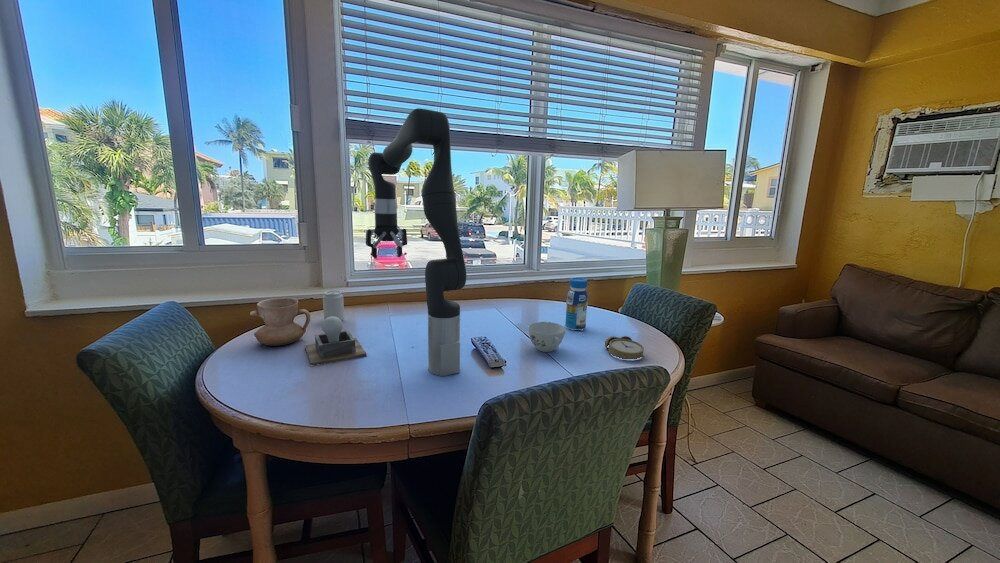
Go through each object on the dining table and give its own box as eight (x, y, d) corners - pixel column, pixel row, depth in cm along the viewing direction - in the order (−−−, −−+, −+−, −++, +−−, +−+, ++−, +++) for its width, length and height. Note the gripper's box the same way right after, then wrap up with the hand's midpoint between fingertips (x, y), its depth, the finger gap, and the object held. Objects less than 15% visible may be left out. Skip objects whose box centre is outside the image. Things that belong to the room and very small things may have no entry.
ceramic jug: (246, 351, 128) (243, 309, 125) (258, 335, 142) (255, 297, 139) (308, 347, 134) (306, 306, 131) (313, 333, 147) (312, 295, 144)
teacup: (521, 344, 142) (522, 322, 140) (553, 341, 146) (554, 320, 144) (539, 360, 128) (540, 337, 126) (574, 356, 132) (575, 333, 130)
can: (320, 323, 158) (318, 293, 155) (331, 317, 165) (329, 289, 162) (337, 324, 157) (336, 294, 154) (348, 319, 164) (346, 290, 161)
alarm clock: (619, 354, 128) (599, 331, 141) (617, 367, 129) (597, 343, 143) (651, 352, 130) (628, 330, 144) (648, 365, 132) (626, 342, 145)
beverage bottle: (564, 323, 166) (567, 276, 162) (585, 325, 165) (588, 277, 160) (564, 330, 158) (568, 280, 153) (586, 332, 156) (590, 282, 152)
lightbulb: (347, 346, 132) (345, 314, 130) (339, 353, 126) (336, 319, 124) (329, 345, 133) (327, 313, 130) (320, 352, 127) (317, 319, 124)
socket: (366, 356, 127) (365, 341, 126) (311, 366, 119) (310, 350, 118) (355, 340, 141) (355, 326, 140) (305, 348, 132) (304, 333, 131)
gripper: (367, 212, 134) (369, 260, 138) (409, 212, 142) (409, 258, 145) (362, 211, 141) (364, 257, 144) (402, 211, 148) (403, 255, 151)
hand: (387, 257), depth 145 cm, fingers open, 8 cm apart
